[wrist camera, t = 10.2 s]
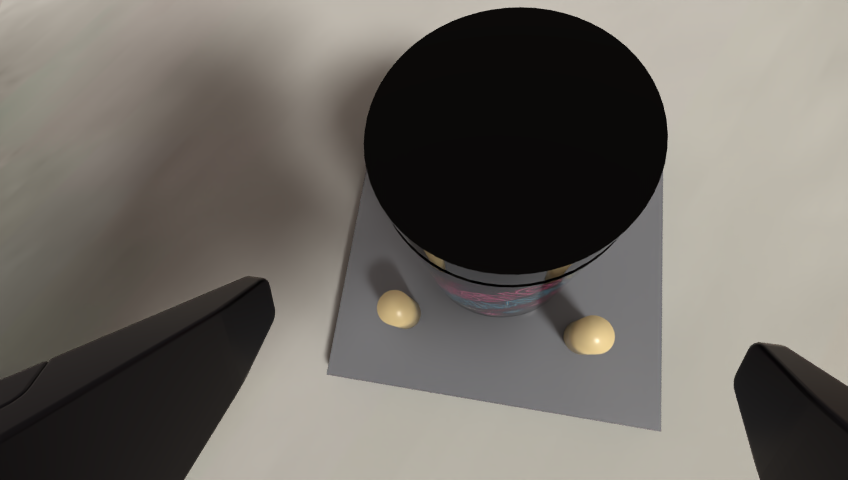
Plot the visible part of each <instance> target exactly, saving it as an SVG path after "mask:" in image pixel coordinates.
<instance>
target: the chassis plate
mask: <svg viewBox="0 0 848 480" xmlns="http://www.w3.org/2000/svg"><path fill="white" fill-rule="evenodd" d="M662 231H663V172H662V175H661V178H660V181H659V183H658V185H657V188H656V190H655V192H654V194H653V196H652V197H651V199H650V201H649V203H648V204H647V206H646V207H645V209H644V210H643V211H642V213H641V214H640V215H639V217H638V218H637V219H636V220H635V221H634V222H633V224H632V225H631V226H630V227H629V228H628V229H627V230H626V231H625V232H624V233H623V234H622V235H621V236H620V237H619V238H618V239H617V240H616V241H615V242H614V243H613V244H612V246H611V247H610V248H609V249H608V250H607V251H605V252H604V253H603V254H602V255H601V256H600V257H598V258H597V259H596V260H595V261H593V262H592V263H590V264H589V265H587V266H586V267H585V268H584V269H583V270H582V271H581V272H579V273H578V274H577V275H576V276H575V277H574V278H573V279H572V280H571V281H570V282H569V283H568V284H567V285H566V286H565V287H564V288H563V289H562V290H561V291H560V292H558V293H557V294H556V295H555V296H554V297H553V298H552V299H551V300H550V301H548V302H547V303H546V304H544V305H543V306H541V307H539V308H537V309H535V310H533V311H531V312H528V313H526V314H522V315H519V316H513V317H489V316H484V315H480V314H476V313H474V312H471V311H469V310H467V309H464V308H463V307H461V306H459V305H458V304H456V303H455V302H454V301H452V300H451V299H450V298H449V297H448V296H447V295H445V294H444V292H443V291H442V290H441V289H440V288H439V286H438V285H437V283H436V282H435V281H434V279H433V278H432V276H431V275H430V273H429V272H428V271H427V269H426V268H425V266H424V265H423V263H422V262H421V260H420V259H419V258H418V256H417V255H416V253H415V252H414V251H413V250H412V249H411V248H410V247H409V246H408V245H407V244H406V242H405V241H404V240H403V239H402V237H401V236H400V235H399V233H398V232H397V230H396V229H395V227H394V226H393V224H392V222H391V220H390V218H389V217H388V216H387V214H386V213H385V211H384V210H383V208H382V207H381V205H380V203H379V201H378V199H377V198H376V196H375V193H374V191H373V188H372V186H371V184H370V180H369V177H368V173H367V169H366V174H365V179H364V185H363V190H362V195H361V200H360V205H359V210H358V215H357V221H356V226H355V231H354V236H353V241H352V246H351V251H350V256H349V262H348V267H347V272H346V277H345V282H344V287H343V292H342V298H341V303H340V308H339V313H338V318H337V323H336V328H335V334H334V339H333V344H332V349H331V354H330V359H329V364H328V370H327V375H333V376H338V377H344V378H350V379H356V380H362V381H368V382H374V383H379V384H385V385H391V386H397V387H403V388H409V389H415V390H420V391H426V392H432V393H438V394H444V395H450V396H456V397H461V398H467V399H473V400H479V401H485V402H491V403H496V404H502V405H508V406H514V407H520V408H526V409H532V410H537V411H543V412H549V413H555V414H561V415H567V416H573V417H578V418H584V419H590V420H596V421H602V422H608V423H614V424H619V425H625V426H631V427H637V428H643V429H649V430H655V431H660V432H661V361H662Z"/></svg>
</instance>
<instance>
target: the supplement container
mask: <svg viewBox="0 0 848 480" xmlns="http://www.w3.org/2000/svg"><path fill="white" fill-rule="evenodd" d="M667 140H668V132H667V121H666V115H665V111H664V106H663V103H662V100H661V97H660V94H659V92H658V90H657V88H656V86H655V83H654V81H653V79H652V78H651V76H650V75H649V73H648V71H647V70H646V68H645V67H644V66H643V64H642V63H641V62H640V61H639V59H638V58H637V57H636V56H635V55H634V54H633V53H632V52H631V51H630V50H629V49H628V48H627V47H626V46H625V45H624V44H622V43H621V42H620V41H619V40H618V39H616V38H615V37H614V36H612V35H611V34H609V33H608V32H606V31H605V30H603V29H601V28H599V27H597V26H595V25H594V24H592V23H590V22H587V21H585V20H582V19H580V18H578V17H575V16H571V15H568V14H565V13H561V12H557V11H552V10H546V9H538V8H522V7H519V8H502V9H494V10H488V11H483V12H479V13H475V14H472V15H468V16H465V17H462V18H460V19H457V20H454V21H452V22H450V23H448V24H446V25H444V26H442V27H439V28H438V29H436V30H434V31H433V32H431V33H429V34H428V35H426V36H425V37H423V38H422V39H421V40H419V41H418V42H417V43H415V44H414V45H413V46H412V47H411V48H410V49H408V50H407V51H406V52H405V53H404V54H403V55H402V56H401V57H400V58H399V59H398V60H397V61H396V63H395V64H394V65H393V66H392V68H391V69H390V70H389V71H388V73H387V75H386V76H385V78H384V79H383V81H382V82H381V84H380V86H379V88H378V90H377V92H376V93H375V96H374V98H373V101H372V103H371V106H370V109H369V113H368V116H367V121H366V127H365V135H364V156H365V163H366V169H367V173H368V177H369V180H370V184H371V186H372V188H373V191H374V193H375V196H376V198H377V199H378V201H379V203H380V205H381V207H382V208H383V210H384V211H385V213H386V214H387V216H388V217H389V218H390V220H391V222H392V224H393V226H394V227H395V229H396V230H397V232H398V233H399V235H400V236H401V237H402V239H403V240H404V241H405V242H406V244H407V245H408V246H409V247H410V248H411V249H412V250H413V251H414V252H415V253H416V255H417V256H418V258H419V259H420V260H421V262H422V263H423V265H424V266H425V268H426V269H427V271H428V272H429V273H430V275H431V276H432V278H433V279H434V281H435V282H436V283H437V285H438V286H439V288H440V289H441V290H442V291H443V292H444V294H445V295H447V296H448V297H449V298H450V299H451V300H452V301H454V302H455V303H456V304H458V305H459V306H461V307H463V308H464V309H467V310H469V311H471V312H474V313H476V314H480V315H484V316H489V317H513V316H519V315H522V314H526V313H528V312H531V311H533V310H535V309H537V308H539V307H541V306H543V305H544V304H546V303H547V302H548V301H550V300H551V299H552V298H553V297H554V296H555V295H556V294H557V293H558V292H560V291H561V290H562V289H563V288H564V287H565V286H566V285H567V284H568V283H569V282H570V281H571V280H572V279H573V278H574V277H575V276H576V275H577V274H578V273H579V272H581V271H582V270H583V269H584V268H585V267H586V266H587V265H589V264H590V263H592V262H593V261H595V260H596V259H597V258H598V257H600V256H601V255H602V254H603V253H604V252H605V251H607V250H608V249H609V248H610V247H611V246H612V244H613V243H614V242H615V241H616V240H617V239H618V238H619V237H620V236H621V235H622V234H623V233H624V232H625V231H626V230H627V229H628V228H629V227H630V226H631V225H632V224H633V222H634V221H635V220H636V219H637V218H638V217H639V215H640V214H641V213H642V211H643V210H644V209H645V207H646V206H647V204H648V203H649V201H650V199H651V197H652V196H653V194H654V192H655V190H656V188H657V185H658V183H659V181H660V178H661V175H662V172H663V168H664V165H665V159H666V153H667Z"/></svg>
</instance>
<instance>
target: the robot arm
mask: <svg viewBox="0 0 848 480" xmlns="http://www.w3.org/2000/svg"><path fill="white" fill-rule="evenodd" d="M274 317H275V307H274V303H273V298H272V294H271V289H270V285H269V282H268V281H267V280H266V279H264V278H259V277H251V276H247V277H244V278H241V279H239V280H237V281H234V282H232V283H230V284H227V285H225V286H222V287H220V288H218V289H215V290H213V291H211V292H208V293H206V294H203V295H201V296H199V297H196V298H194V299H192V300H189V301H187V302H185V303H182V304H180V305H177V306H175V307H173V308H170V309H168V310H166V311H163V312H161V313H158V314H156V315H154V316H151V317H149V318H147V319H144V320H142V321H140V322H137V323H135V324H132V325H130V326H128V327H125V328H123V329H121V330H118V331H116V332H113V333H111V334H109V335H106V336H104V337H102V338H99V339H97V340H95V341H92V342H90V343H87V344H85V345H83V346H80V347H78V348H76V349H73V350H71V351H68V352H66V353H64V354H61V355H59V356H57V357H54V358H52V359H50V360H49V362H47V361H45V362H42V363H40V364H37V365H35V366H33V367H30V368H28V369H26V370H23V371H21V372H18V373H16V374H14V375H11V376H9V377H6V378H4V379H1V380H0V480H184V479H185V477H186V476H187V474H188V473H189V471H190V469H191V468H192V466H193V464H194V463H195V461H196V460H197V458H198V456H199V455H200V453H201V451H202V450H203V448H204V447H205V445H206V443H207V442H208V440H209V438H210V437H211V435H212V434H213V432H214V430H215V429H216V427H217V425H218V424H219V422H220V421H221V419H222V417H223V416H224V414H225V412H226V411H227V409H228V408H229V406H230V404H231V403H232V401H233V399H234V398H235V396H236V395H237V393H238V391H239V389H240V388H241V386H242V384H243V382H244V380H245V378H246V377H247V375H248V373H249V371H250V368H251V366H252V364H253V362H254V360H255V358H256V356H257V354H258V352H259V350H260V348H261V346H262V344H263V342H264V339H265V337H266V335H267V333H268V331H269V329H270V327H271V325H272V323H273V320H274ZM734 390H735V394H736V398H737V401H738V405H739V409H740V412H741V416H742V419H743V423H744V426H745V430H746V434H747V437H748V441H749V444H750V448H751V452H752V455H753V459H754V462H755V466H756V469H757V472H758V475H759V478H760V480H848V386H846V385H845V384H843V383H842V382H840V381H839V380H837V379H836V378H834V377H832V376H831V375H829V374H828V373H826V372H825V371H823V370H822V369H820V368H818V367H817V366H815V365H814V364H812V363H811V362H809V361H808V360H806V359H804V358H803V357H801V356H800V355H798V354H797V353H795V352H794V351H792V350H790V349H789V348H787V347H785V346H782V345H777V344H769V343H761V342H758V343H754V344H753V345H751V346H750V348H749V349H748V351H747V353H746V355H745V357H744V359H743V361H742V363H741V365H740V367H739V369H738V371H737V373H736V375H735V378H734Z"/></svg>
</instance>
